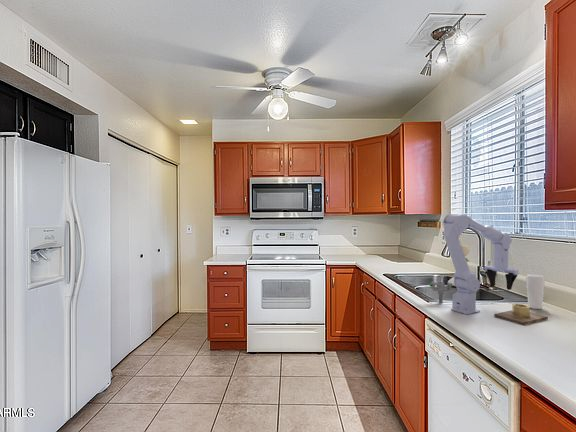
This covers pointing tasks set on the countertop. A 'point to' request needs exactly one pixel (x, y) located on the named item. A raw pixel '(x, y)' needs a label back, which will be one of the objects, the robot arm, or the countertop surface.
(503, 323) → the countertop surface
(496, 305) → the countertop surface
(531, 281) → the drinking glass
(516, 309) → the brass collar
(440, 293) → the mechanical component
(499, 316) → the hub board
